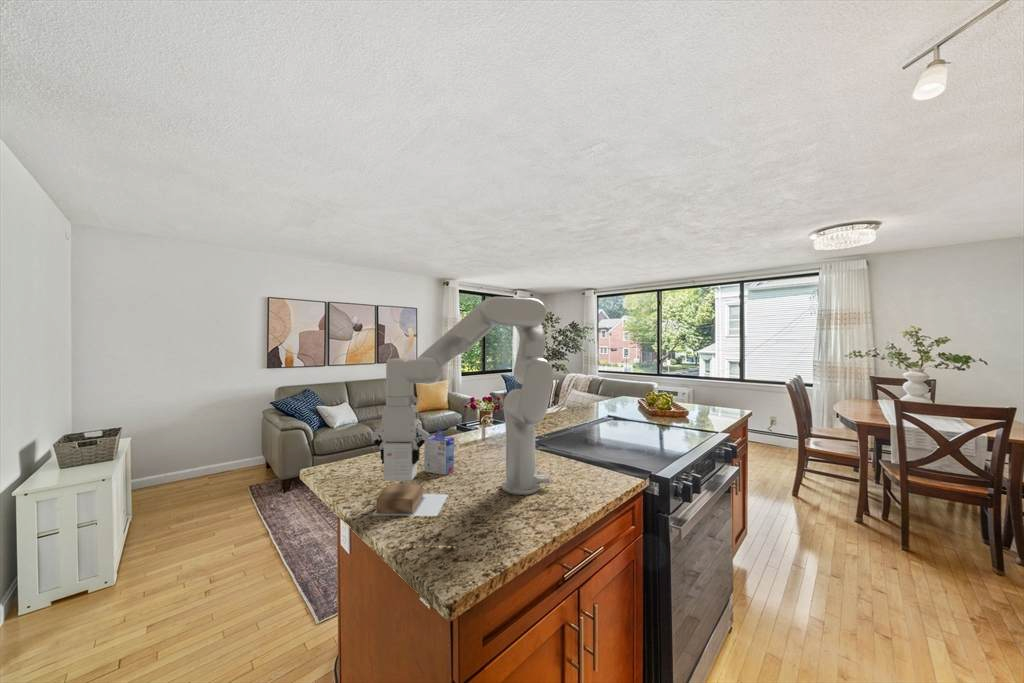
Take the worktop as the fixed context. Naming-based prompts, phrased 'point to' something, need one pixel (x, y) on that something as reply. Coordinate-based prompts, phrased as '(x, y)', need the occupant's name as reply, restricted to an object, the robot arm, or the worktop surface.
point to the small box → (398, 462)
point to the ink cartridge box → (439, 454)
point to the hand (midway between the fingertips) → (400, 462)
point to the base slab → (399, 498)
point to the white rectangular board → (425, 506)
